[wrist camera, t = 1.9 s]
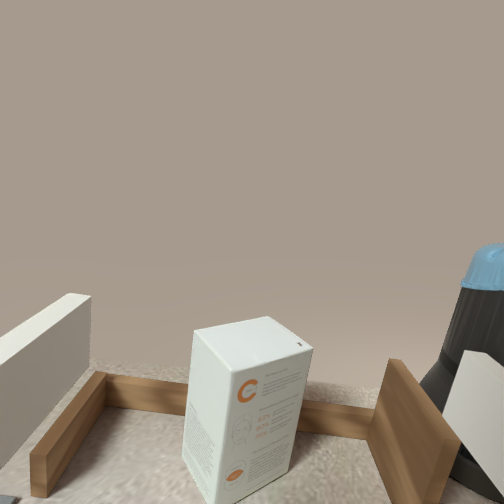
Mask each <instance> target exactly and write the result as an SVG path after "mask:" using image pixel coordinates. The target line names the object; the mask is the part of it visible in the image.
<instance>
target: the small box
mask: <svg viewBox="0 0 504 504" xmlns="http://www.w3.org/2000/svg"><path fill="white" fill-rule="evenodd" d="M312 353H313V348H312V347H311V346H310V345H308V344H307V343H306V342H305V341H303V340H302V339H301V338H299V337H298V336H297V335H295V334H294V333H292V332H291V331H289V330H288V329H287V328H285V327H283V326H282V325H281V324H279V323H278V322H276V321H275V320H273V319H272V318H270V317H269V316H265V317H260V318H256V319H250V320H245V321H240V322H234V323H230V324H224V325H220V326H214V327H209V328H204V329H198V330H194V336H193V345H192V355H191V364H190V375H189V384H188V394H187V404H186V413H185V423H184V434H183V444H182V458H183V460H184V462H185V464H186V465H187V467H188V469H189V471H190V473H191V475H192V477H193V479H194V480H195V482H196V484H197V486H198V488H199V490H200V492H201V494H202V496H203V498H204V499H205V501H206V503H207V504H234V503H236V502H237V501H239V500H241V499H242V498H244V497H246V496H248V495H249V494H251V493H253V492H254V491H256V490H258V489H260V488H261V487H263V486H265V485H266V484H268V483H270V482H271V481H273V480H275V479H276V478H278V477H280V476H282V475H283V474H285V473H287V472H288V468H289V463H290V458H291V453H292V449H293V444H294V439H295V434H296V429H297V424H298V420H299V415H300V410H301V405H302V400H303V396H304V391H305V386H306V381H307V376H308V372H309V367H310V362H311V357H312Z"/></svg>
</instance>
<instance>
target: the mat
mask: <svg viewBox="0 0 504 504" xmlns="http://www.w3.org/2000/svg"><path fill="white" fill-rule="evenodd" d="M15 501H16V500H15V497H10V496H2V495H0V504H14V503H15Z"/></svg>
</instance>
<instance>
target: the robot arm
mask: <svg viewBox="0 0 504 504" xmlns="http://www.w3.org/2000/svg"><path fill="white" fill-rule="evenodd" d="M461 286H462V289H461V292H460V295H459V298H458V301H457V304H456V307H455V311H454V314H453V317H452V319H451V322H450V326H449V328H448V331H447V334H446V337H445V340H444V343H443V346H442V349H441V353H440V356H439V359H438V361H437V362H436V363H435V364H434V366H433V367H432V368H431V369H430V370H429V372H428V373H427V374H426V375H425V377H424V378H423V379H422V381H421V382H420V383H419V385H420V386H421V387H422V389H423V390H424V391H425V393H426V394H427V395H428V397H429V398H430V399H431V401H432V402H433V403H434V405H435V406H436V407H437V409H438V410H439V411H440V413H441V414H442V416H443V418H444V419H445V420H446V422H447V423H448V424H449V426H450V427H451V428H452V430H453V431H454V432H455V434H456V435H457V436H458V437H459V439H460V440H461V441H462V442H461V445H460V447H459V450H458V453H457V455H456V458H455V461H454V463H453V466H452V469H451V472H450V474H449V475H450V476H452V477H453V478H454V479H456V480H457V481H459V482H460V483H462V484H463V485H465V486H467V487H468V488H470V489H472V490H474V491H475V492H477V493H479V494H481V495H483V496H485V497H487V498H489V499H492V500H494V501H496V502H499V503H501V504H504V243H494V244H489V245H486V246H483V247H482V248H480V249H479V250H478V251H477V252H476V253H475V254H474V256H473V258H472V261H471V263H470V266H469V268H468V271H467V273H466V276H465V278H464V279H462V281H461ZM90 328H91V296H87V295H81V294H73V293H68V294H67V295H65V296H64V297H62V298H60V299H59V300H57V301H56V302H54V303H53V304H51V305H50V306H48V307H47V308H45V309H44V310H42V311H40V312H39V313H37V314H36V315H34V316H33V317H31V318H30V319H28V320H27V321H25V322H24V323H22V324H21V325H19V326H17V327H16V328H14V329H13V330H11V331H10V332H8V333H7V334H5V335H4V336H2V337H1V338H0V470H1V469H2V468H3V467H4V466H5V464H6V463H7V462H8V461H9V460H10V459H11V457H12V456H13V455H14V454H15V453H16V452H17V450H18V449H19V448H20V447H21V446H22V445H23V443H24V442H25V441H26V440H27V439H28V438H29V436H30V435H31V434H32V433H33V432H34V431H35V429H36V428H37V427H38V426H39V425H40V424H41V422H42V421H43V420H44V419H45V418H46V417H47V415H48V414H49V413H50V412H51V411H52V409H53V408H54V407H55V406H56V405H57V404H58V402H59V401H60V400H61V399H62V398H63V397H64V395H65V394H66V393H67V392H68V391H69V390H70V388H71V387H72V386H73V385H74V384H75V383H76V381H77V380H78V379H79V378H80V377H81V376H82V374H83V373H84V372H85V371H86V370H87V369H88V367H89V358H90Z"/></svg>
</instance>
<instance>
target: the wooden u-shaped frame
mask: <svg viewBox="0 0 504 504" xmlns="http://www.w3.org/2000/svg"><path fill="white" fill-rule="evenodd" d="M187 394H188V384H183V383H175V382H168V381H160V380H153V379H146V378H138V377H131V376H123V375H116V374H109V373H106V372H99V371H95V372H94V374H93V375H92V376H91V377H90V379H89V380H88V381H87V382H86V384H85V385H84V386H83V387H82V389H81V390H80V391H79V392H78V394H77V395H76V396H75V397H74V399H73V400H72V401H71V402H70V404H69V405H68V406H67V407H66V409H65V410H64V411H63V412H62V414H61V415H60V416H59V417H58V419H57V420H56V421H55V422H54V424H53V425H52V426H51V427H50V429H49V430H48V431H47V433H46V434H45V435H44V436H43V438H42V439H41V440H40V441H39V443H38V444H37V445H36V446H35V448H34V449H33V450H32V451H31V453H30V483H31V496H33V497H41V498H47V497H48V495H49V494H50V492H51V491H52V489H53V488H54V486H55V485H56V483H57V481H58V480H59V478H60V477H61V475H62V474H63V472H64V470H65V469H66V467H67V466H68V464H69V463H70V461H71V459H72V458H73V456H74V455H75V453H76V452H77V450H78V448H79V447H80V445H81V444H82V442H83V441H84V439H85V438H86V436H87V434H88V433H89V431H90V430H91V428H92V427H93V425H94V423H95V422H96V420H97V419H98V417H99V416H100V414H101V412H102V411H103V409H104V408H105V406H114V407H121V408H129V409H136V410H144V411H152V412H159V413H167V414H174V415H182V416H185V413H186V404H187ZM296 431H302V432H310V433H317V434H325V435H332V436H340V437H348V438H355V439H363V440H366V441H367V443H368V446H369V448H370V451H371V453H372V456H373V458H374V461H375V463H376V466H377V468H378V471H379V473H380V476H381V478H382V481H383V483H384V486H385V488H386V491H387V493H388V496H389V498H390V501H391V503H392V504H439V501H440V498H441V496H442V493H443V490H444V488H445V485H446V482H447V480H448V477H449V474H450V472H451V469H452V466H453V463H454V461H455V458H456V455H457V453H458V450H459V447H460V445H461V442H462V441H461V440H460V439H459V437H458V436H457V435H456V434H455V432H454V431H453V430H452V428H451V427H450V426H449V424H448V423H447V422H446V420H445V419H444V418H443V416H442V414H441V413H440V411H439V410H438V409H437V407H436V406H435V405H434V403H433V402H432V401H431V399H430V398H429V397H428V395H427V394H426V393H425V391H424V390H423V389H422V387H421V386H420V385H419V383H418V382H417V381H416V379H415V378H414V377H413V375H412V374H411V373H410V372H409V370H408V369H407V367H406V366H405V365H404V363H403V362H402V361H401V360H397V359H390V358H389V361H388V364H387V368H386V372H385V375H384V378H383V382H382V386H381V389H380V392H379V396H378V400H377V403H376V407H375V409H368V408H361V407H353V406H346V405H339V404H331V403H324V402H316V401H309V400H302V405H301V410H300V415H299V420H298V424H297V429H296Z"/></svg>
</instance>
